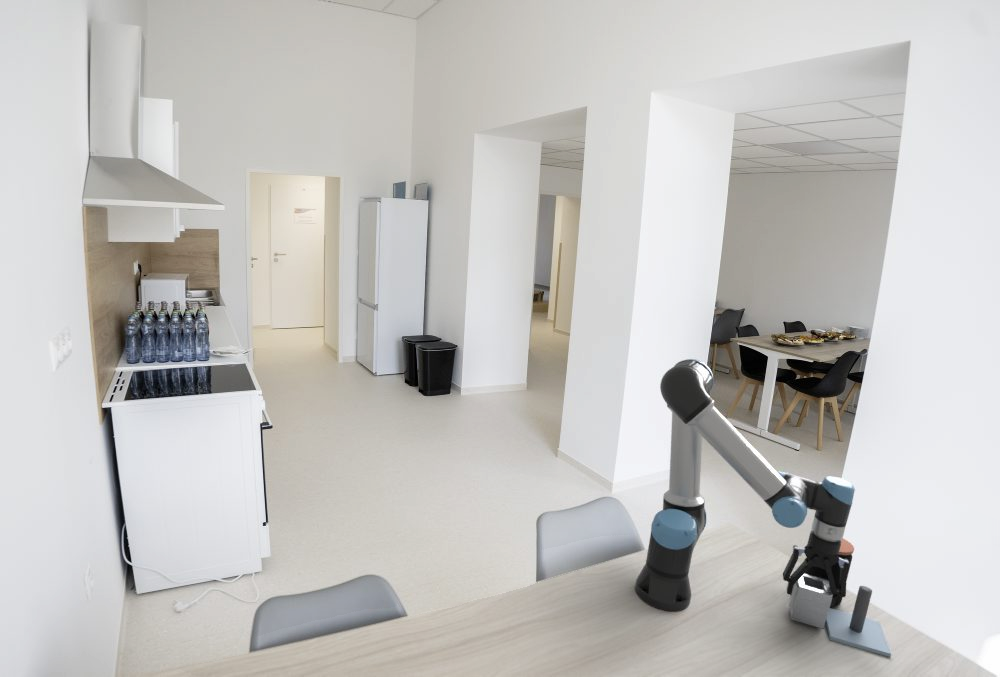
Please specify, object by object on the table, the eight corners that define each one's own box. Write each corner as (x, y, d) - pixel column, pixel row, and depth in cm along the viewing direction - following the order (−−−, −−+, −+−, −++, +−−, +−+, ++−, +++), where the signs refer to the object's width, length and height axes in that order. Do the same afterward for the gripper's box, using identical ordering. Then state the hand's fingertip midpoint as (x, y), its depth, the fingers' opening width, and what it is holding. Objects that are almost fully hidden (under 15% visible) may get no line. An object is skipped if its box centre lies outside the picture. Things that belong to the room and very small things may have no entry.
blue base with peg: (829, 639, 163) (840, 595, 161) (822, 609, 176) (832, 568, 173) (890, 657, 159) (902, 612, 156) (878, 625, 172) (889, 583, 169)
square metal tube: (790, 619, 168) (799, 586, 166) (788, 602, 175) (796, 571, 173) (823, 629, 165) (832, 595, 163) (819, 611, 173) (828, 580, 171)
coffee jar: (845, 613, 176) (860, 555, 172) (805, 604, 178) (819, 547, 174) (833, 591, 186) (847, 536, 182) (796, 583, 188) (808, 529, 184)
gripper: (785, 529, 165) (766, 605, 170) (873, 553, 158) (851, 630, 163) (783, 517, 172) (765, 590, 177) (867, 539, 165) (847, 614, 170)
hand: (807, 609), depth 170 cm, fingers closed on square metal tube, 8 cm apart
